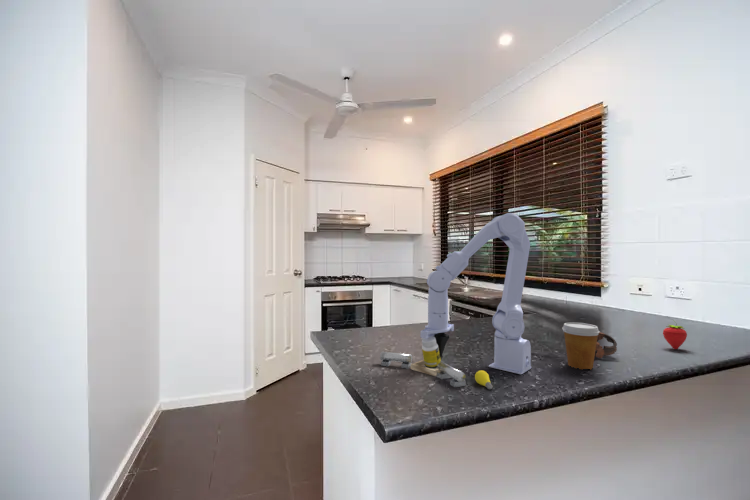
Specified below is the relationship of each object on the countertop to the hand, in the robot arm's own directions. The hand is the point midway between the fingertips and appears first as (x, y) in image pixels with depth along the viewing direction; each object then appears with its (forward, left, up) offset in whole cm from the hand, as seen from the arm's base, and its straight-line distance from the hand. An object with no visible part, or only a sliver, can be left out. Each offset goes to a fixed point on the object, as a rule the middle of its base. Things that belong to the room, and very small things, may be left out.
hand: (437, 359), depth 103 cm
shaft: (-9, +8, -2) cm, 12 cm away
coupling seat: (0, +4, -2) cm, 4 cm away
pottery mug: (-30, -47, -2) cm, 56 cm away
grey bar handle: (+9, +8, -2) cm, 12 cm away
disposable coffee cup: (-30, -29, -2) cm, 42 cm away
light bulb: (-17, +5, -2) cm, 18 cm away
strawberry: (-49, -74, -2) cm, 89 cm away
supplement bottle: (0, +2, -2) cm, 3 cm away
